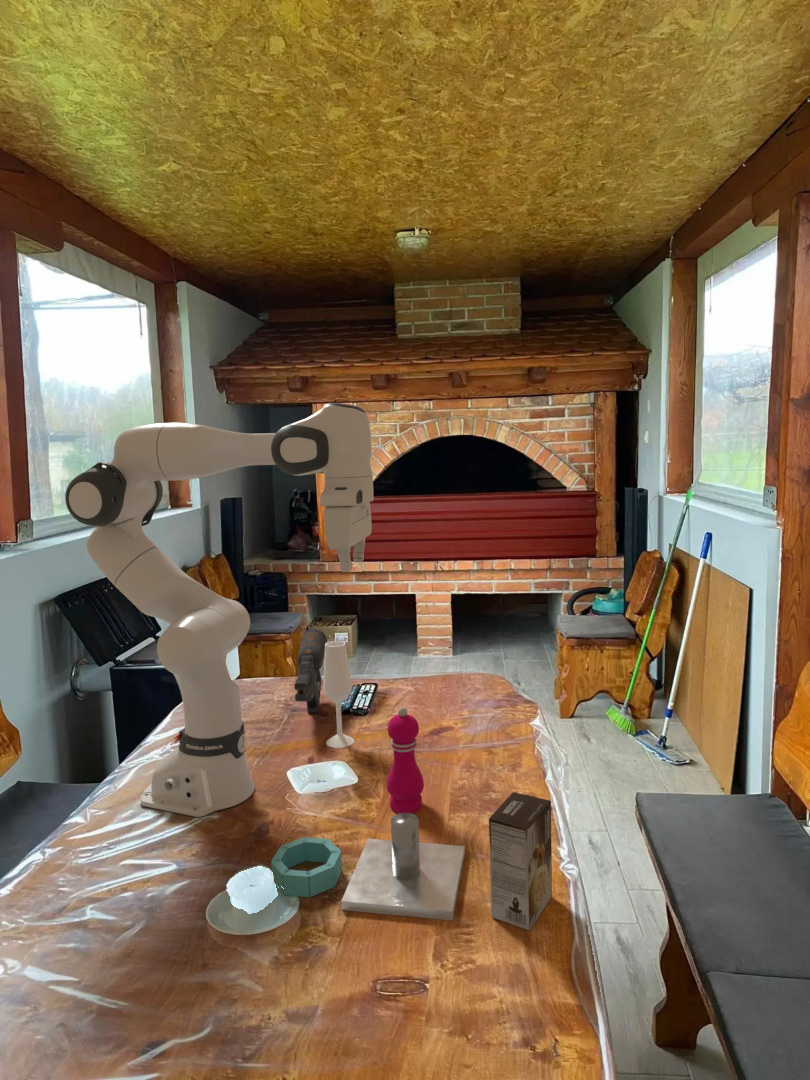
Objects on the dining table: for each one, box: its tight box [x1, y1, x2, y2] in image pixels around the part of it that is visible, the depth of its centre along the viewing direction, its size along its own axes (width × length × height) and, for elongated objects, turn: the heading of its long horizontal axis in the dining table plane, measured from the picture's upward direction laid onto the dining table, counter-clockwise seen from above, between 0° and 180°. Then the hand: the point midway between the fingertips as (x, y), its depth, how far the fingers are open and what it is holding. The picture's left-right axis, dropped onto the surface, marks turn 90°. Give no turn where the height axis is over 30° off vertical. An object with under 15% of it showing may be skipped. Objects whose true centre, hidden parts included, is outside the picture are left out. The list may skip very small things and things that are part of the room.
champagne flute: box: [322, 640, 355, 749], centre depth 166 cm, size 7×7×24 cm
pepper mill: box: [386, 707, 425, 814], centre depth 136 cm, size 7×7×20 cm
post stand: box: [340, 813, 466, 921], centre depth 114 cm, size 17×17×10 cm
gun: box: [294, 628, 328, 714], centre depth 184 cm, size 7×28×20 cm, turn 179°
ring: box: [270, 836, 343, 898], centre depth 117 cm, size 11×11×4 cm
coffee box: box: [488, 791, 553, 931], centre depth 106 cm, size 9×6×16 cm
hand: (352, 566), depth 132 cm, fingers open, 8 cm apart
